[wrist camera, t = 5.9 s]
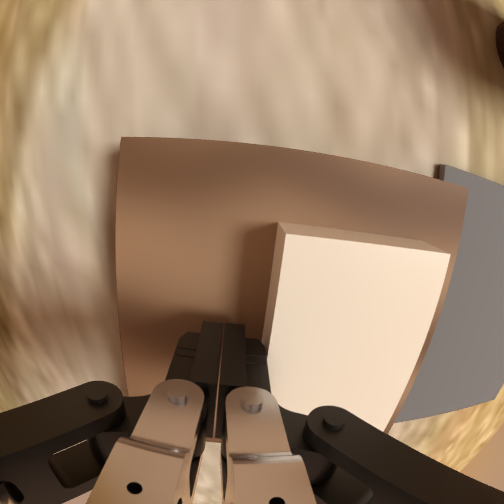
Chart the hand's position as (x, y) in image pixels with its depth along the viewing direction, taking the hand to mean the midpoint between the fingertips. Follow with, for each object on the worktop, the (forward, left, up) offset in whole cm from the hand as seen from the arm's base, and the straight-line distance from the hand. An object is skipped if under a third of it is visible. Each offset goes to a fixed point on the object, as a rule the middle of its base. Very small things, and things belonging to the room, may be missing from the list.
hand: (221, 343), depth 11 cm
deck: (0, +3, -3) cm, 4 cm away
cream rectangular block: (0, +5, -1) cm, 5 cm away
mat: (0, +16, -3) cm, 17 cm away
